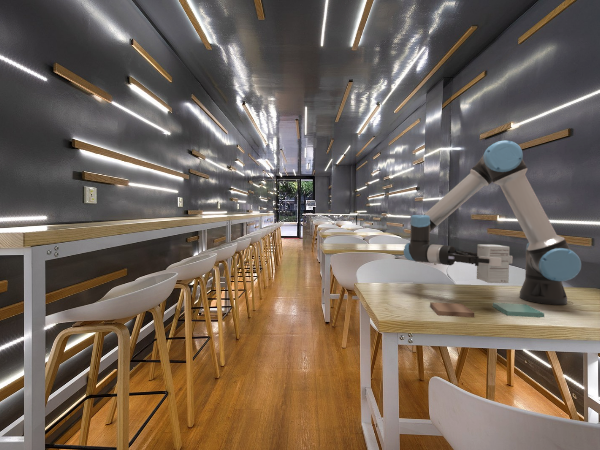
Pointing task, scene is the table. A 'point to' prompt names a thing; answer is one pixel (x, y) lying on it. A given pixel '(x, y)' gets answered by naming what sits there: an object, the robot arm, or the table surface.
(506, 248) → the supplement box
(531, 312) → the plate
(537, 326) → the table surface
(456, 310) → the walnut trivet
